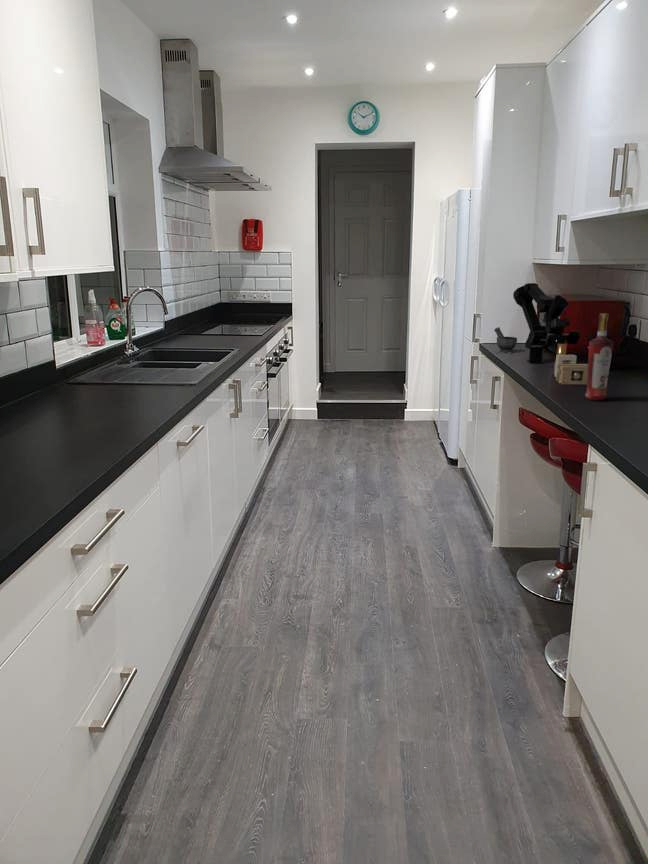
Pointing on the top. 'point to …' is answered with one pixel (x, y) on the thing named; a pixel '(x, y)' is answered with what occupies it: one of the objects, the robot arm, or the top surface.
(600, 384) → the liquor
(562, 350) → the shaft
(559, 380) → the bearing block
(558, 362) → the spacer
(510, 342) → the mortar and pestle
